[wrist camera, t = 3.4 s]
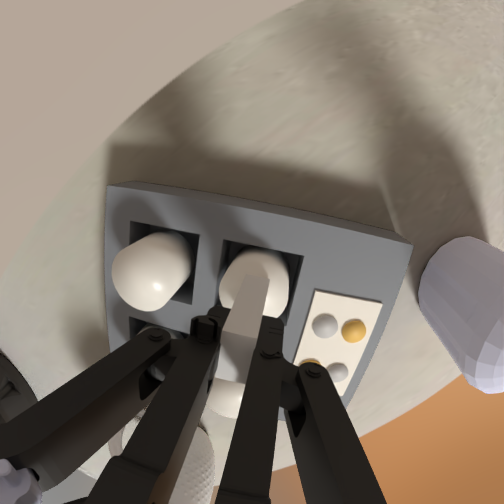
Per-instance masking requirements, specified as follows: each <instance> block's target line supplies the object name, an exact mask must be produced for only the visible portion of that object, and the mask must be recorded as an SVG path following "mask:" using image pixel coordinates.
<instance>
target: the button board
mask: <svg viewBox="0 0 504 504" xmlns="http://www.w3.org/2000/svg"><path fill="white" fill-rule="evenodd" d="M163 229H167V230H172V231H175V232H177V233H179V234H180V235H182V236H183V237H184V238H185V239H186V240H187V241H188V243H189V244H190V246H191V248H192V250H193V253H194V259H195V263H194V269H193V271H192V273H191V275H190V276H189V278H188V279H187V280H186V281H185V282H184V283H183V284H182V286H181V287H180V288H179V289H178V290H177V291H176V292H175V294H174V295H173V296H172V297H171V298H170V299H169V301H168V302H167V303H166V304H165V305H164V306H163V307H161V308H160V309H158V310H155V311H142V310H139V309H136V308H134V307H132V306H130V305H129V304H128V303H126V302H125V301H124V300H123V299H122V297H121V296H120V295H119V293H118V292H117V290H116V288H115V286H114V283H113V280H112V264H113V261H114V258H115V257H116V255H117V254H118V253H119V252H120V251H121V250H122V249H124V248H126V247H128V246H129V245H131V244H133V243H135V242H137V241H138V240H140V239H142V238H144V237H146V236H148V235H149V234H151V233H153V232H155V231H158V230H163ZM247 245H254V246H259V247H264V248H269V249H274V250H279V251H281V252H282V253H283V254H284V255H285V257H286V258H287V261H288V264H289V291H288V302H287V305H286V307H285V309H284V311H283V312H282V314H281V315H280V316H279V317H277V318H280V319H281V320H282V321H283V323H284V335H283V349H282V353H283V355H284V358H285V359H286V360H287V361H288V362H290V363H292V364H294V365H296V366H300V365H301V364H303V363H305V362H314V363H318V364H320V365H322V366H323V367H325V368H326V369H327V371H328V372H329V374H330V377H331V379H332V381H333V383H334V385H335V388H336V390H337V392H338V394H339V396H340V398H341V401H342V403H343V405H344V407H345V409H346V408H347V406H348V404H349V402H350V401H351V399H352V397H353V395H354V393H355V391H356V389H357V387H358V385H359V383H360V381H361V379H362V377H363V375H364V373H365V371H366V369H367V367H368V365H369V363H370V361H371V359H372V356H373V354H374V352H375V350H376V348H377V345H378V343H379V341H380V338H381V336H382V334H383V331H384V329H385V327H386V324H387V322H388V319H389V317H390V314H391V312H392V309H393V306H394V304H395V301H396V298H397V296H398V293H399V290H400V287H401V285H402V282H403V279H404V276H405V273H406V270H407V267H408V264H409V260H410V257H411V254H412V251H413V247H414V245H413V244H411V243H410V242H408V241H407V240H406V239H404V238H403V237H402V236H400V235H399V234H397V233H396V232H393V231H389V230H385V229H381V228H377V227H373V226H369V225H365V224H361V223H357V222H353V221H348V220H344V219H340V218H335V217H331V216H326V215H322V214H317V213H313V212H308V211H303V210H299V209H294V208H289V207H284V206H279V205H274V204H269V203H264V202H259V201H254V200H248V199H243V198H238V197H232V196H226V195H221V194H215V193H209V192H203V191H197V190H191V189H185V188H178V187H172V186H165V185H159V184H152V183H145V182H137V181H130V182H124V183H118V184H112V185H107V194H106V210H105V239H104V269H105V297H106V313H107V326H108V337H109V346H110V353H111V352H113V351H114V350H116V349H117V348H119V347H120V346H122V345H123V344H125V343H126V342H128V341H129V340H130V339H132V338H133V337H135V336H136V335H137V334H138V333H139V332H140V331H141V330H142V328H143V327H144V326H145V325H146V324H148V323H153V324H156V325H160V326H163V327H167V328H170V329H174V330H177V331H179V332H180V333H181V335H182V336H183V338H184V339H186V338H188V337H189V336H190V325H191V319H192V318H193V317H196V316H199V315H207V312H208V311H209V309H210V308H212V307H214V306H215V305H217V306H222V304H221V301H220V297H219V286H220V282H221V280H222V278H223V276H224V274H225V273H226V271H227V269H228V268H229V266H230V264H231V263H232V261H233V260H234V258H235V256H236V255H237V253H238V252H239V251H240V250H241V249H242V248H243V247H245V246H247ZM222 307H223V306H222ZM278 420H281V421H286V420H285V416H284V408H281V407H279V414H278Z"/></svg>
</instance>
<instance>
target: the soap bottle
mask: <svg viewBox="0 0 504 504" xmlns="http://www.w3.org/2000/svg"><path fill="white" fill-rule="evenodd" d="M418 296H419V305H420V310H421V312H422V314H423V316H424V317H425V319H426V321H427V322H428V324H429V325H430V327H431V328H432V329H433V331H434V332H435V334H436V335H437V336H438V338H439V339H440V341H441V342H442V344H443V345H444V347H445V348H446V349H447V351H448V352H449V354H450V355H451V357H452V358H453V360H454V361H455V363H456V364H457V366H458V367H459V369H460V371H461V372H462V374H463V375H464V377H465V378H466V380H467V382H468V383H469V384H470V385H472V386H474V387H475V388H477V389H479V390H481V391H483V392H485V393H486V394H491V393H500V392H504V252H503V251H502V250H500V249H498V248H496V247H494V246H492V245H490V244H488V243H486V242H484V241H482V240H480V239H477V238H474V237H471V236H466V237H460V238H455V239H453V240H451V241H450V242H448V243H446V244H445V245H443V246H441V247H440V248H439V250H438V251H437V252H436V253H435V254H434V255H433V256H432V257H431V259H430V260H429V262H428V264H427V266H426V268H425V270H424V272H423V274H422V276H421V281H420V286H419V291H418Z"/></svg>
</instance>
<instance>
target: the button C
mask: <svg viewBox="0 0 504 504" xmlns="http://www.w3.org/2000/svg"><path fill="white" fill-rule="evenodd" d="M215 375H216V373H215ZM215 375H214V380H213V386H212V388H211V391H210V394H209V396H208V399H207V402H206V405H207V406H208V407H209V408H210V409H211V410H213V411H214V412H216V413H217V414H220V415H222V416H225V417H229V418H237V417H238V413H239V409H240V405H241V401H242V397H243V393H244V389H245V384H241V383H237V382H232V381H228V380H224V379H220V378H216V377H215Z"/></svg>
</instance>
